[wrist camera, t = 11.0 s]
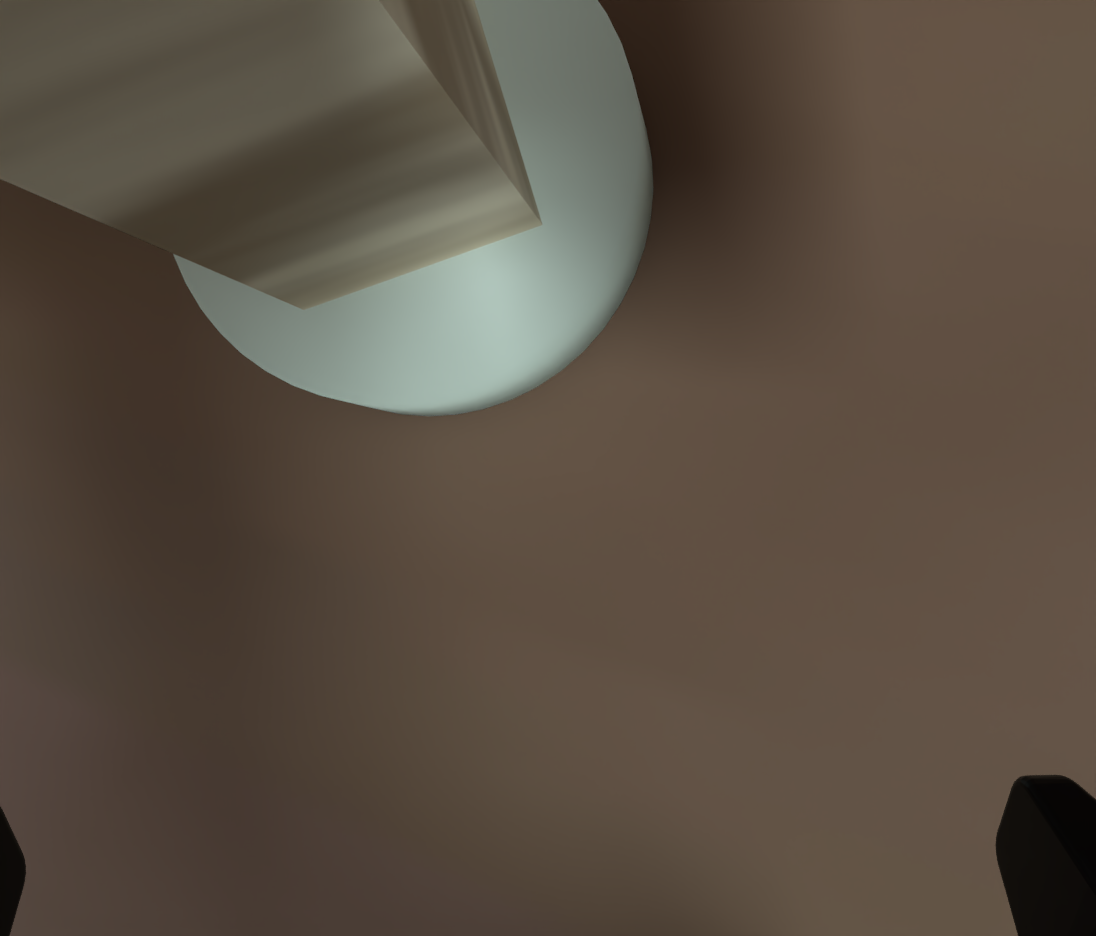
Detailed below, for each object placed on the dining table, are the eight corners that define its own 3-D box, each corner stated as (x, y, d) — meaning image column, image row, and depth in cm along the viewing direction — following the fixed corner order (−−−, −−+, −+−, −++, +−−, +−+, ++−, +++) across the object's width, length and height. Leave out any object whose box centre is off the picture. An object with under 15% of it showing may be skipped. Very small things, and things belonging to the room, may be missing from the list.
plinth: (431, 507, 21) (379, 509, 18) (158, 210, 22) (70, 167, 19) (749, 189, 20) (751, 136, 17) (443, -101, 21) (396, -197, 18)
